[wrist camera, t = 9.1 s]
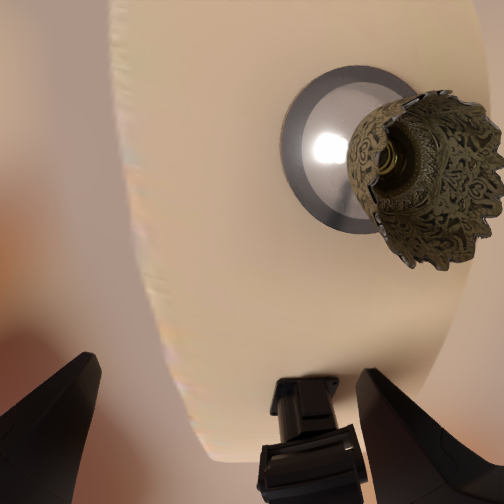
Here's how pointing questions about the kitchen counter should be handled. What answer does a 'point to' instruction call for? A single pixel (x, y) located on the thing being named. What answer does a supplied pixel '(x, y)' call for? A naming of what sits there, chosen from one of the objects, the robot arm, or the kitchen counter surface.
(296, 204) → the kitchen counter surface
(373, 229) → the gray-rimmed plate
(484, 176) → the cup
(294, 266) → the kitchen counter surface
